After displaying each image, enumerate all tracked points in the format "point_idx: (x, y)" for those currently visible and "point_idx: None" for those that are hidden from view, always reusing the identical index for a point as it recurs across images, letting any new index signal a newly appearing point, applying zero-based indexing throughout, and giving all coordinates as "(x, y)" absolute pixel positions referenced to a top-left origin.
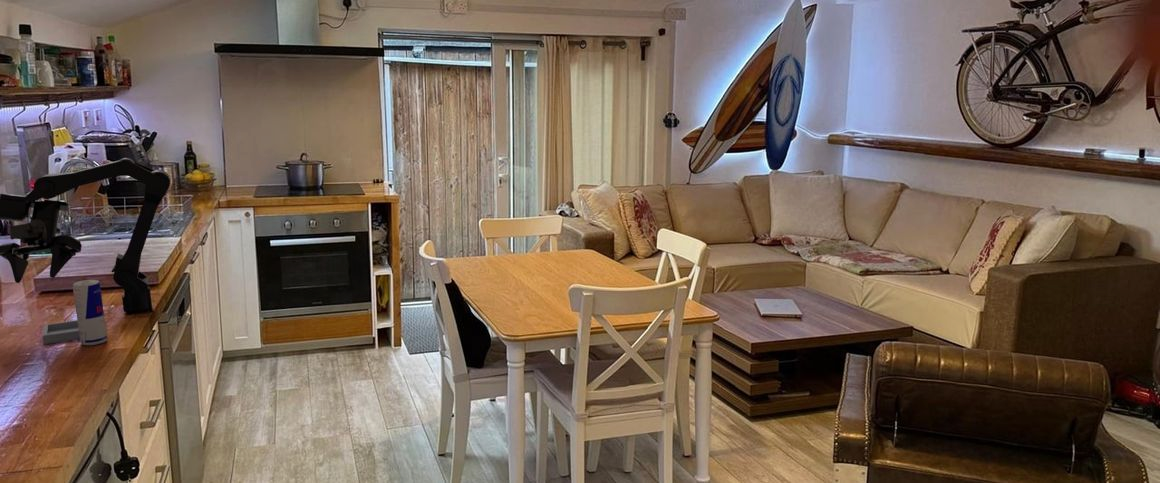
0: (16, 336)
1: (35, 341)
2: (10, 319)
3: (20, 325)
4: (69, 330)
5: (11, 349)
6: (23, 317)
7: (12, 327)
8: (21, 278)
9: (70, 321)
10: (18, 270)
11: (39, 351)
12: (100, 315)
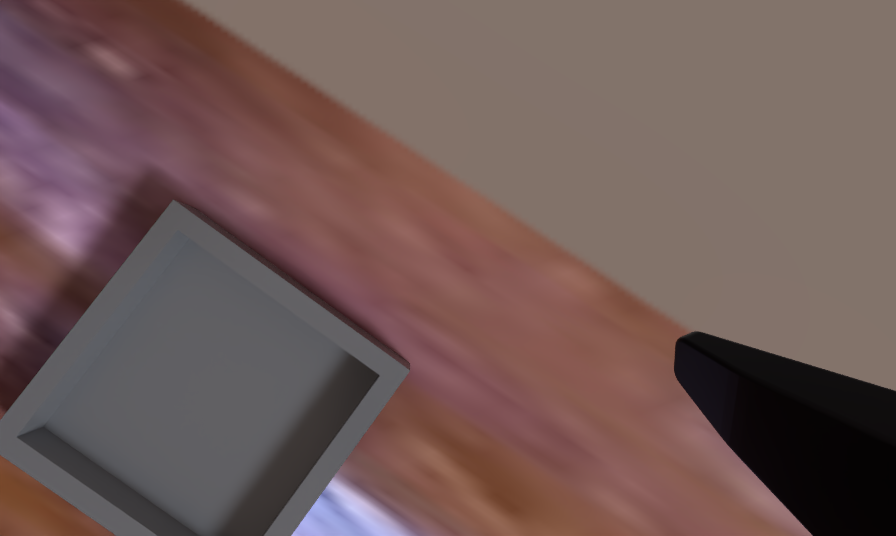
0: (506, 251)
1: (300, 226)
2: None
3: None
4: (255, 420)
5: (287, 79)
6: None
7: None
8: (723, 433)
9: (307, 486)
10: (836, 460)
11: (89, 109)
12: None
